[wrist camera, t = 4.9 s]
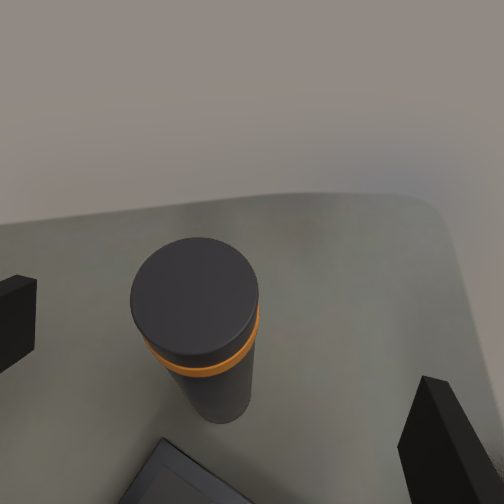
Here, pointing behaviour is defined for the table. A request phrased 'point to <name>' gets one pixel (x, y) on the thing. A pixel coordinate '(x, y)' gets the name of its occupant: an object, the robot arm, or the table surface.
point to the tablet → (178, 481)
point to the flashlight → (201, 321)
